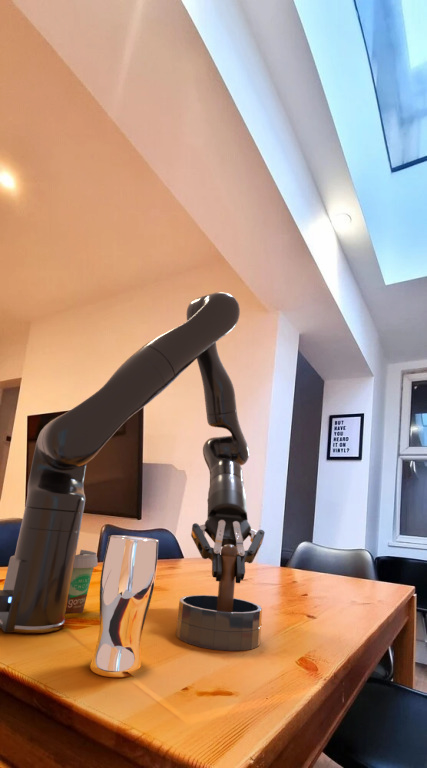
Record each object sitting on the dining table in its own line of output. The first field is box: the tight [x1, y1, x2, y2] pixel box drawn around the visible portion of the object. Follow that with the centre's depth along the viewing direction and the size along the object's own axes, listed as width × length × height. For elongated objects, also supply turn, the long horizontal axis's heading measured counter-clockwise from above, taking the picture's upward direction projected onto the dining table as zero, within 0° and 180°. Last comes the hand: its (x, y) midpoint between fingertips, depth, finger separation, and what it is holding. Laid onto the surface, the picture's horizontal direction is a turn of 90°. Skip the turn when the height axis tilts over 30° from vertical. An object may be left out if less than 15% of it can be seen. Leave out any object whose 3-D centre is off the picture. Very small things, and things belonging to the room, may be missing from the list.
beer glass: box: [89, 534, 160, 678], centre depth 54 cm, size 7×7×15 cm
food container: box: [65, 549, 99, 615], centre depth 76 cm, size 12×6×10 cm, turn 167°
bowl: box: [175, 594, 263, 652], centre depth 67 cm, size 13×13×6 cm
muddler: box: [217, 544, 237, 612], centre depth 70 cm, size 4×4×14 cm
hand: (228, 578), depth 68 cm, fingers closed on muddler, 2 cm apart
